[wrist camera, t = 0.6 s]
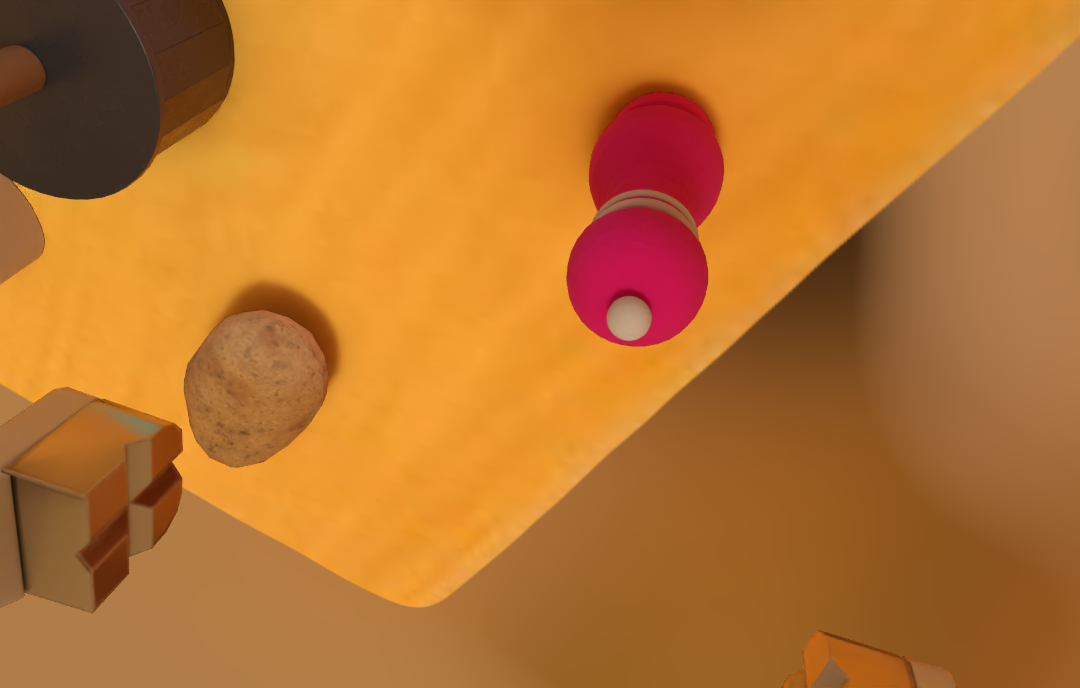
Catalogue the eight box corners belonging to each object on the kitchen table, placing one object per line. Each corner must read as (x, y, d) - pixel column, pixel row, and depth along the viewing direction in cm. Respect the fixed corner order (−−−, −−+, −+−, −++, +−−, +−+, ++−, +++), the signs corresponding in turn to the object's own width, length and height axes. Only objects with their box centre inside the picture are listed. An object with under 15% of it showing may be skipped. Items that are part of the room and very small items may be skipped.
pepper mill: (592, 192, 50) (528, 387, 34) (607, 74, 46) (542, 232, 30) (710, 210, 49) (702, 418, 33) (736, 92, 45) (741, 264, 29)
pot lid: (-125, -136, 39) (-228, -126, 35) (168, -43, 39) (101, -22, 35) (-65, 146, 48) (-141, 182, 43) (175, 223, 48) (121, 266, 43)
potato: (202, 387, 66) (145, 452, 60) (243, 257, 58) (182, 316, 51) (312, 441, 67) (268, 511, 61) (367, 321, 59) (323, 387, 53)
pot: (5, -133, 46) (-123, -118, 39) (238, -59, 46) (152, -31, 39) (35, 97, 54) (-67, 143, 47) (233, 160, 54) (161, 216, 47)
